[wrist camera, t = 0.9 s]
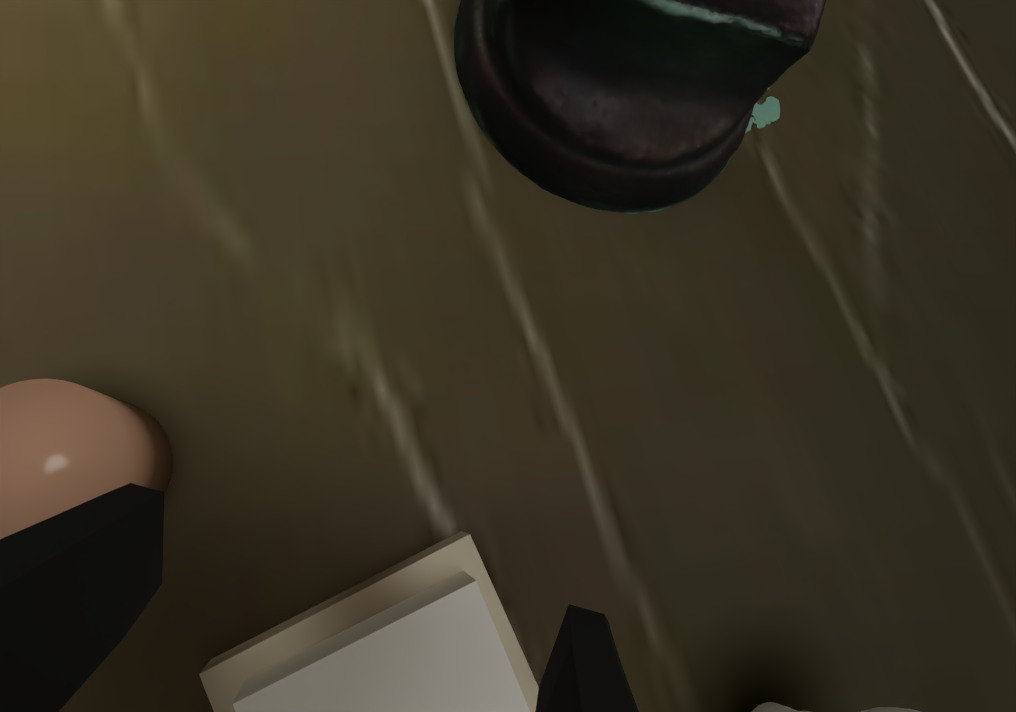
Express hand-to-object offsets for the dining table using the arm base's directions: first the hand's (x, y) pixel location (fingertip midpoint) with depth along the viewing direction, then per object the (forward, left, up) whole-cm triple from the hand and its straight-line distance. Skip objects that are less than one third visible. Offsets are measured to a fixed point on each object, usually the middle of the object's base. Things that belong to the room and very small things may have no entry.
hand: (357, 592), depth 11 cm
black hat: (+20, +16, -15) cm, 29 cm away
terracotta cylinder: (-7, +6, -15) cm, 17 cm away
